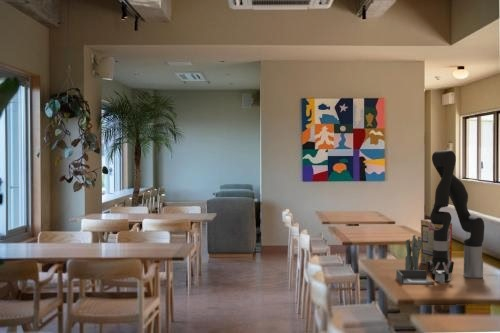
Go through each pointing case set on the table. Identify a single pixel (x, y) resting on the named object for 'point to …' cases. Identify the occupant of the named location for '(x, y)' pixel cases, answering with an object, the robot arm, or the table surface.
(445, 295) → the table surface
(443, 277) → the l bracket
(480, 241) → the robot arm
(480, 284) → the table surface
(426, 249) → the board game box
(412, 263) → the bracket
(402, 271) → the grey l-shaped slot base
